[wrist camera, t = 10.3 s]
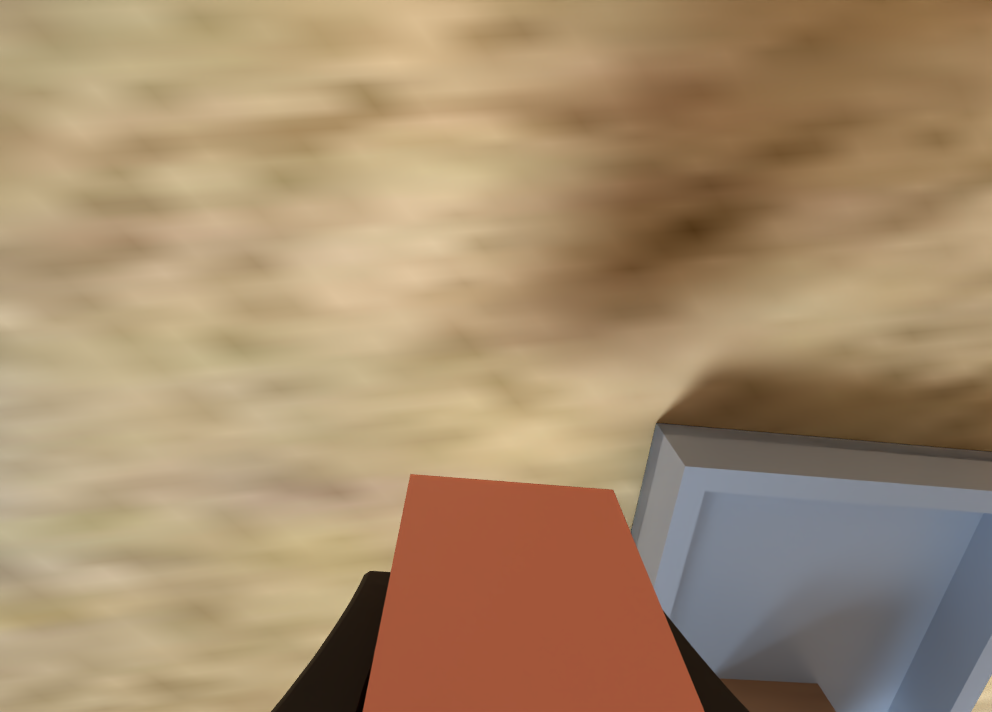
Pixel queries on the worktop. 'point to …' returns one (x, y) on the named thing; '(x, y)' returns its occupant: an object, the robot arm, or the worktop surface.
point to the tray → (825, 562)
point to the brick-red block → (521, 606)
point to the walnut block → (779, 696)
